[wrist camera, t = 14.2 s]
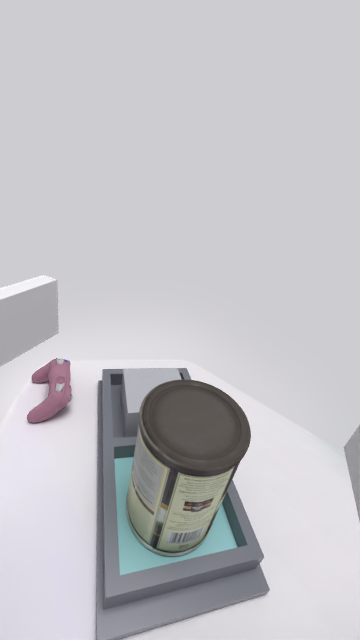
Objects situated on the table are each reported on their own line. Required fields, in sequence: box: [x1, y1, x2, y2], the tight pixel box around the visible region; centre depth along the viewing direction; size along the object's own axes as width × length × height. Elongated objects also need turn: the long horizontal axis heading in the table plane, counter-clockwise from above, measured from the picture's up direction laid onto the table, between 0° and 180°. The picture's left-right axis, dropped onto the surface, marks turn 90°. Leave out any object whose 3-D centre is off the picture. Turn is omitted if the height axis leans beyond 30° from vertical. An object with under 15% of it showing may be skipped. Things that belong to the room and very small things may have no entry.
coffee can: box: [126, 379, 251, 557], centre depth 28 cm, size 10×10×14 cm
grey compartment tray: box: [96, 368, 270, 640], centre depth 36 cm, size 16×30×6 cm, turn 15°
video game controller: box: [27, 358, 72, 423], centre depth 42 cm, size 10×5×7 cm, turn 22°
